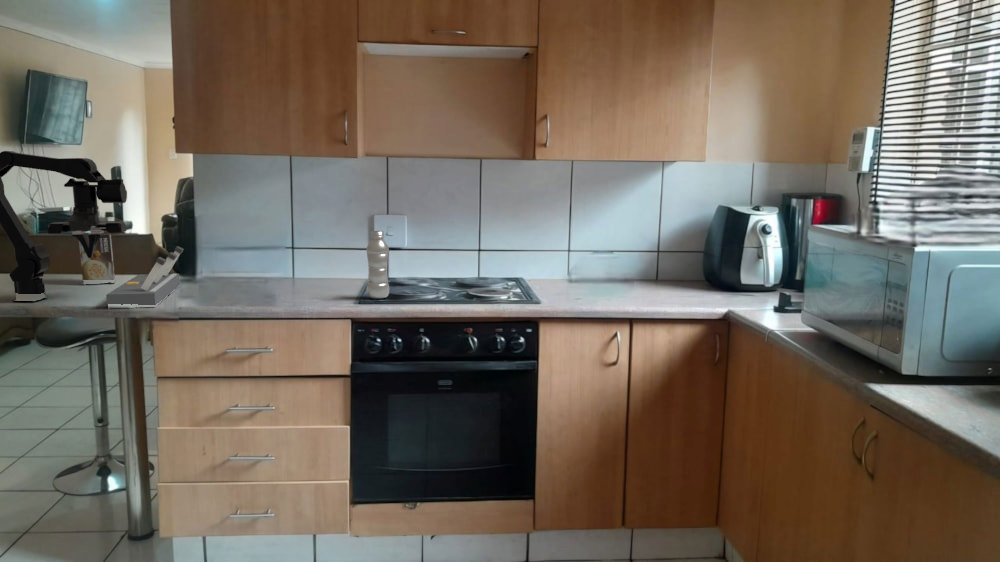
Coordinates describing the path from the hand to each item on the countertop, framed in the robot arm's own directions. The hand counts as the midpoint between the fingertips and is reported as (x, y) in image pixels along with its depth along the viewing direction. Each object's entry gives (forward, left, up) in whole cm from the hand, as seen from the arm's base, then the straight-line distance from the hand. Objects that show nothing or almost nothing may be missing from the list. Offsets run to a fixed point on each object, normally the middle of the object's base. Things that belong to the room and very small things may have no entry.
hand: (90, 257), depth 206 cm
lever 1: (+19, -7, -7) cm, 22 cm away
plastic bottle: (+81, +9, -12) cm, 82 cm away
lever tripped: (+15, +6, -7) cm, 18 cm away
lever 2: (+12, +18, -7) cm, 23 cm away
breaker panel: (+13, +5, -12) cm, 18 cm away
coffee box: (-14, +26, -12) cm, 32 cm away
